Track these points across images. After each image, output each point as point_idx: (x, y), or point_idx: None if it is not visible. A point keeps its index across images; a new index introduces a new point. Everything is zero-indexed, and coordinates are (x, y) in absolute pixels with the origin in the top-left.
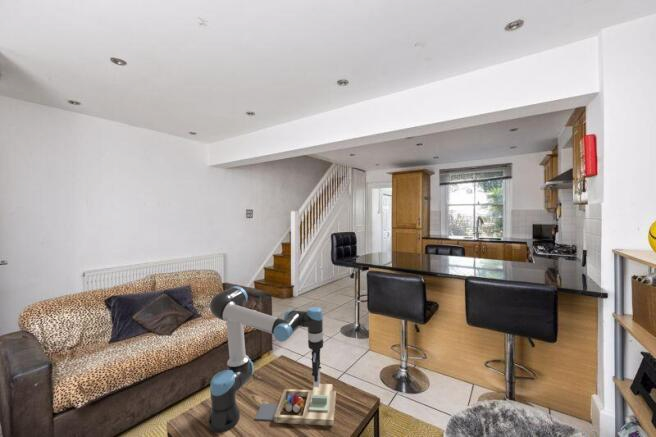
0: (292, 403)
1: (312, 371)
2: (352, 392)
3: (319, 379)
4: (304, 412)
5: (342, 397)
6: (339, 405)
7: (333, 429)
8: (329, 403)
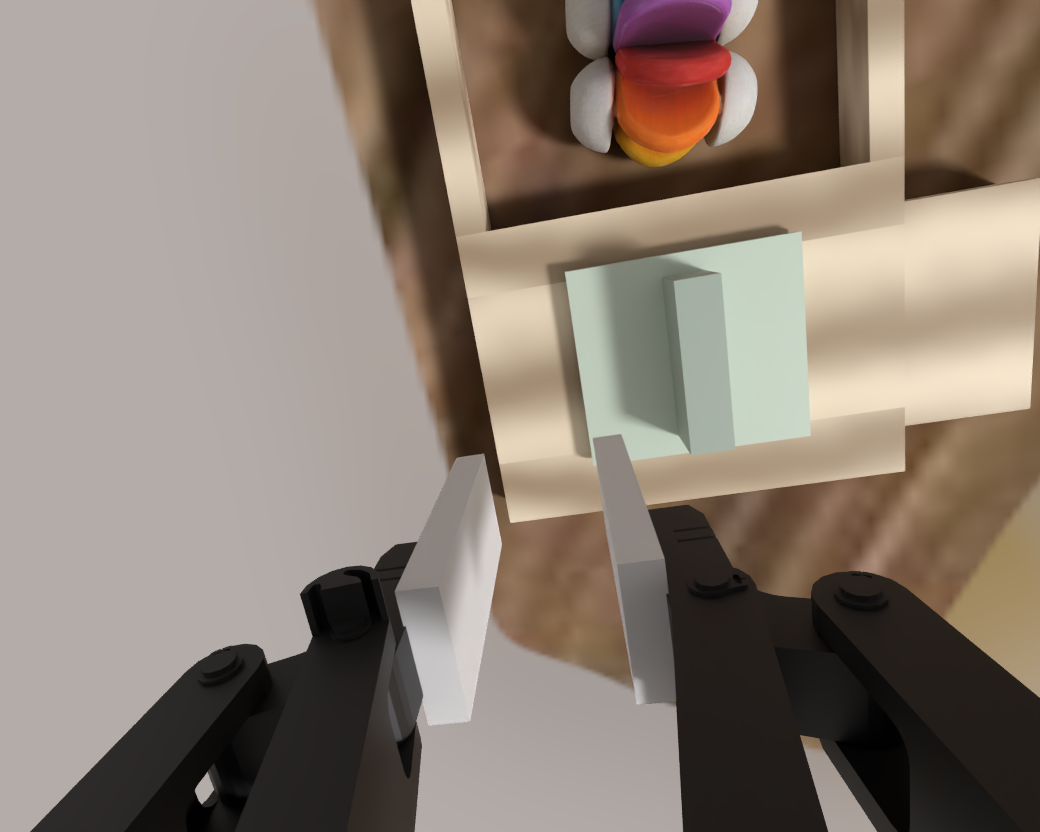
0: (616, 38)
1: (63, 802)
2: (943, 586)
3: (610, 552)
4: (534, 234)
5: (864, 511)
6: (752, 505)
7: None
8: None
